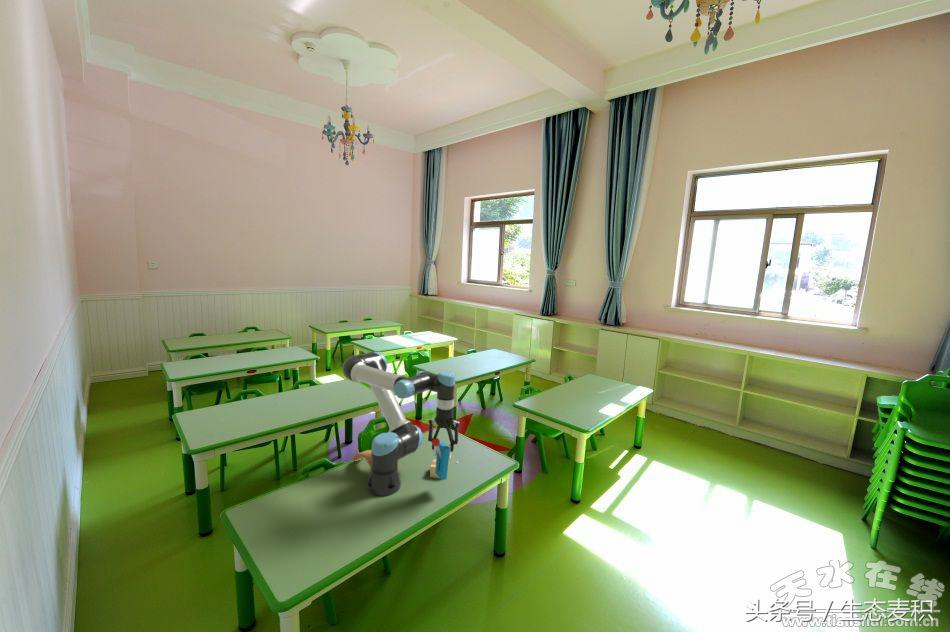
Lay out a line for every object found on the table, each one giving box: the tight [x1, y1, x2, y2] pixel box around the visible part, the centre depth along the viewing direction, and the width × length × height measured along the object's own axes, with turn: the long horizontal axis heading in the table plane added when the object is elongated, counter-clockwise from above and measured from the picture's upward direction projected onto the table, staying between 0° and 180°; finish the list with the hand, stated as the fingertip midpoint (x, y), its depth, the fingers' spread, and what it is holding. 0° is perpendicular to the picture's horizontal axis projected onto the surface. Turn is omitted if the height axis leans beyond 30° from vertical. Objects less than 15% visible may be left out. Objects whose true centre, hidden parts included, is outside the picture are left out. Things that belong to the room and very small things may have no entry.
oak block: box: [429, 458, 440, 479], centre depth 188 cm, size 7×7×7 cm
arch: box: [352, 449, 372, 469], centre depth 188 cm, size 6×20×10 cm, turn 46°
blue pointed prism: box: [431, 438, 450, 481], centre depth 171 cm, size 7×7×18 cm
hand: (442, 457), depth 173 cm, fingers closed on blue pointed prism, 6 cm apart
